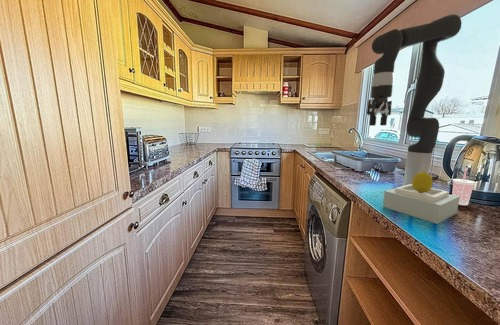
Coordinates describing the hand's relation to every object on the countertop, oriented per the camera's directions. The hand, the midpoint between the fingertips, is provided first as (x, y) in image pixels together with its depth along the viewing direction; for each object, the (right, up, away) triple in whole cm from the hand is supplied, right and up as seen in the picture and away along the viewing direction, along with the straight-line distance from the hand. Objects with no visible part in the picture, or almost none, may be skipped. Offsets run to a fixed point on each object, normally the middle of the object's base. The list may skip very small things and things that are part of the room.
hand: (377, 125), depth 91 cm
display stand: (+6, -33, -15) cm, 36 cm away
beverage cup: (+27, -32, -8) cm, 42 cm away
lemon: (+5, -27, -16) cm, 32 cm away
